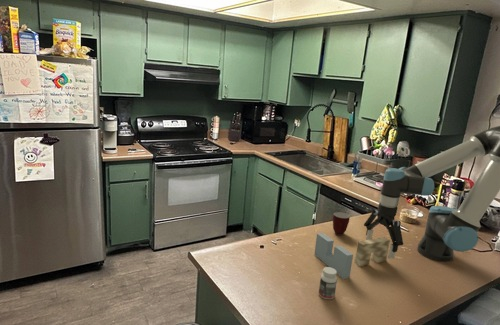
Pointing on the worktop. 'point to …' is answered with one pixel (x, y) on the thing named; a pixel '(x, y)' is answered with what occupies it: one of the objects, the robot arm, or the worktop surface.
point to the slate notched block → (333, 255)
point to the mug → (340, 222)
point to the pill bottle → (328, 283)
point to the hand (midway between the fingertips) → (379, 250)
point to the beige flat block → (372, 251)
